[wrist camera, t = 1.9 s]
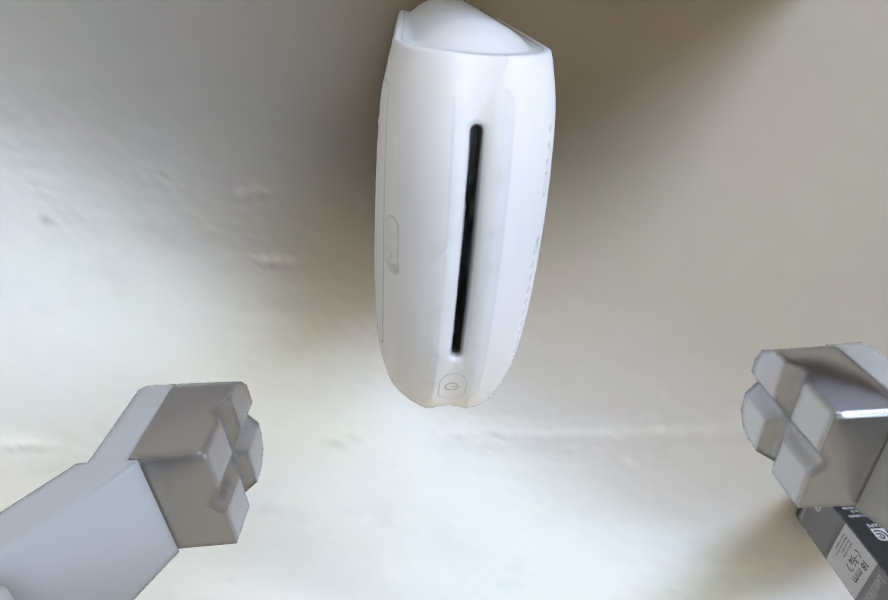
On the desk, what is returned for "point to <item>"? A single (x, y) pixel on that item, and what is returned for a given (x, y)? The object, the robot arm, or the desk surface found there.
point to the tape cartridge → (851, 548)
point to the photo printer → (459, 198)
